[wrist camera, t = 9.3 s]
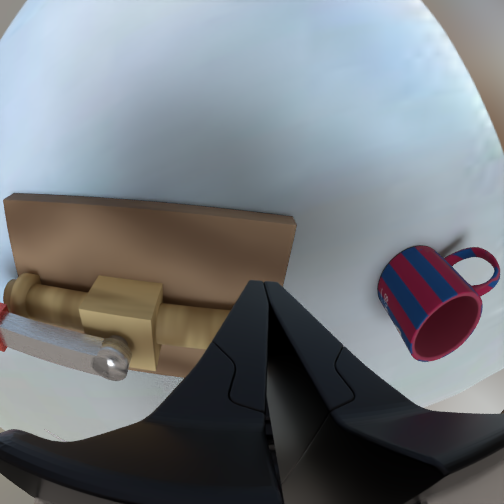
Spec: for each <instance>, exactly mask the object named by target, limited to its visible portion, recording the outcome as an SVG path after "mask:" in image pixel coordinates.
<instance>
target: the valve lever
mask: <svg viewBox="0 0 504 504" xmlns="http://www.w3.org/2000/svg"><path fill="white" fill-rule="evenodd" d="M7 347H9V348H12V349H14V350H17V351H20V352H23V353H25V354H28V355H31V356H34V357H37V358H40V359H43V360H46V361H49V362H52V363H56V364H59V365H62V366H66V367H69V368H73V369H76V370H80V371H83V372H87V373H91V374H95V375H99V376H102V377H104V378H106V379H109V380H113V381H120V380H123V379H124V378H125V377H126V375H127V372H128V368H129V365H130V362H131V358H132V352H131V350H130V348H129V347H128V346H127V345H126V344H125V343H123V342H121V341H120V340H117V339H114V338H100V337H95V336H91V335H87V334H83V333H79V332H75V331H71V330H67V329H63V328H59V327H56V326H52V325H49V324H45V323H42V322H38V321H35V320H31V319H28V318H25V317H22V316H19V315H15V314H12V313H9V310H8V307H7V305H6V304H3V303H0V351H3V352H4V351H5V350H6V348H7Z"/></svg>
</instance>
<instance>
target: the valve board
mask: <svg viewBox="0 0 504 504" xmlns="http://www.w3.org/2000/svg"><path fill="white" fill-rule="evenodd" d="M3 203H4V210H5V216H6V222H7V228H8V233H9V238H10V243H11V248H12V252H13V257H14V261H15V265H16V269H17V273H18V278H17V279H12V280H10V281H9V282H8V283H7V285H6V287H5V290H4V296H3V301H4V304H6V305H7V307H8V310H9V313H12V314H15V315H19V316H22V317H25V318H28V319H31V320H35V321H38V322H42V323H45V324H49V325H52V326H56V327H59V328H63V329H67V330H71V331H75V332H79V333H83V334H87V335H91V336H95V337H100V338H114V339H117V340H120V341H121V342H123V343H125V344H126V345H127V346H128V347H129V348H130V350H131V352H132V358H131V362H130V365H129V368H128V370H134V371H140V372H147V373H153V374H160V375H168V376H175V377H184V378H185V377H186V376H187V375H188V374H189V372H190V371H191V370H192V369H193V368H194V366H195V365H196V364H197V363H198V361H199V360H200V358H201V357H202V355H203V354H204V352H205V351H206V349H207V348H208V346H209V344H210V343H211V342H212V340H213V338H214V337H215V335H216V333H217V332H218V330H219V329H220V327H221V325H222V324H223V322H224V320H225V319H226V317H227V316H228V314H229V312H230V311H231V309H232V307H233V306H234V304H235V303H236V301H237V299H238V298H239V296H240V294H241V293H242V291H243V289H244V288H245V286H246V285H247V283H248V281H249V280H259V281H263V283H264V282H265V281H273V282H278V283H279V284H280V285H281V286H282V287H283V283H284V279H285V275H286V270H287V266H288V262H289V257H290V253H291V249H292V244H293V240H294V235H295V231H296V226H297V225H296V223H295V220H294V218H293V217H292V216H284V215H276V214H268V213H260V212H251V211H243V210H234V209H225V208H215V207H206V206H196V205H186V204H175V203H164V202H153V201H141V200H128V199H114V198H100V197H84V196H67V195H47V194H22V193H13V194H12V195H10V196H8V197H7V198H5V199H4V200H3Z"/></svg>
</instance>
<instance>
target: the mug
mask: <svg viewBox="0 0 504 504" xmlns="http://www.w3.org/2000/svg"><path fill="white" fill-rule="evenodd" d="M470 257H480V258H483V259H485V260H486V261H488V262H489V263H490V264H491V265H492V266H493V267H494V270H495V271H494V274H493V276H492V277H491V279H490V280H488V281H487V282H485V283H483V284H480V285H473V286H471V285H470V284H468V283H467V282H466V281H465V280H464V279H463V278H462V277H461V276H460V275H459V273H458V272H457V271H456V270H455V269H454V268H453V267H452V266H453V265H454V264H456V263H457V262H459V261H461V260H463V259H466V258H470ZM499 279H500V267H499V264H498V262H497V260H496V259H495V257H494V256H493V255H492V254H491V253H489V252H488V251H486V250H484V249H482V248H479V247H471V248H466V249H462V250H459V251H457V252H455V253H453V254H451V255H449V256H447V257H445V258H443V257H441V256H440V255H439V254H438V253H437V252H436V251H435V250H434V249H432V248H430V247H427V246H415V247H412V248H409V249H406V250H404V251H402V252H401V253H400V254H398V255H397V256H396V257H395V258H393V259H392V260H391V261H390V263H389V264H388V265H387V266H386V268H385V269H384V271H383V273H382V275H381V277H380V280H379V284H378V296H379V299H380V301H381V303H382V304H383V306H384V308H385V309H386V311H387V313H388V314H389V316H390V318H391V320H392V321H393V323H394V325H395V326H396V328H397V330H398V332H399V333H400V335H401V337H402V339H403V341H404V342H405V344H406V346H407V348H408V350H409V351H410V353H411V355H412V356H413V358H414V359H416V360H418V361H422V362H428V361H434V360H437V359H440V358H442V357H444V356H446V355H448V354H450V353H451V352H453V351H454V350H456V349H457V348H458V347H459V346H461V345H462V344H463V343H464V342H465V341H466V340H467V339H468V337H469V336H470V335H471V334H472V332H473V331H474V329H475V328H476V326H477V324H478V322H479V319H480V317H481V313H482V300H481V298H480V296H482V295H484V294H486V293H487V292H489V291H490V290H491V289H493V288H494V287H495V285H496V284H497V283H498V281H499Z"/></svg>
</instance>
